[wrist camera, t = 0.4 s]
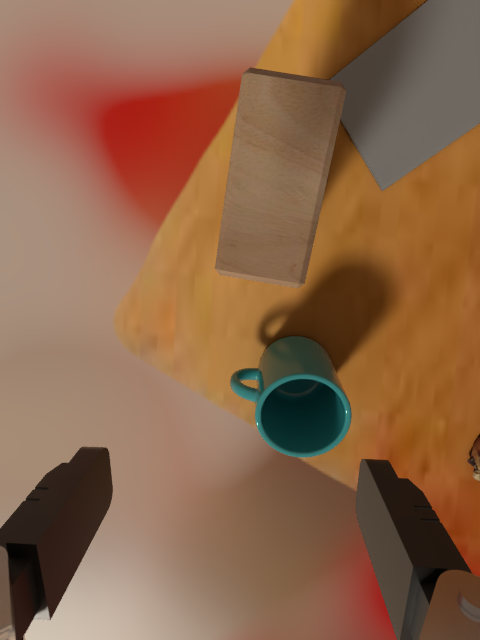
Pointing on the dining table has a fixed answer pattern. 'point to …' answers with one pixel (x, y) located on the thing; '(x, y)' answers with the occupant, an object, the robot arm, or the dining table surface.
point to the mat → (414, 88)
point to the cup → (296, 398)
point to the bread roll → (476, 459)
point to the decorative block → (277, 175)
